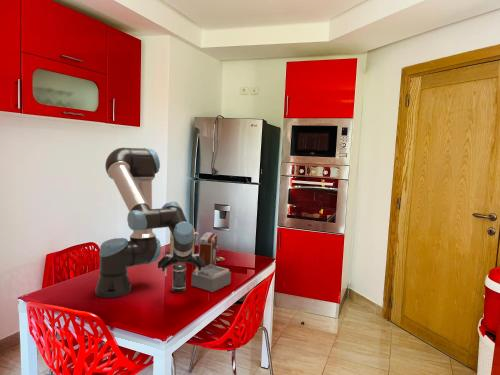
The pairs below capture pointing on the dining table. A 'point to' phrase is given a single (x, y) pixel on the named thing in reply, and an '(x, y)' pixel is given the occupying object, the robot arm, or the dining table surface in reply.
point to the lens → (179, 277)
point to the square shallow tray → (211, 280)
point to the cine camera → (208, 248)
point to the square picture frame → (223, 271)
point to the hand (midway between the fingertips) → (181, 272)
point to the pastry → (220, 258)
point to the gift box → (173, 243)
